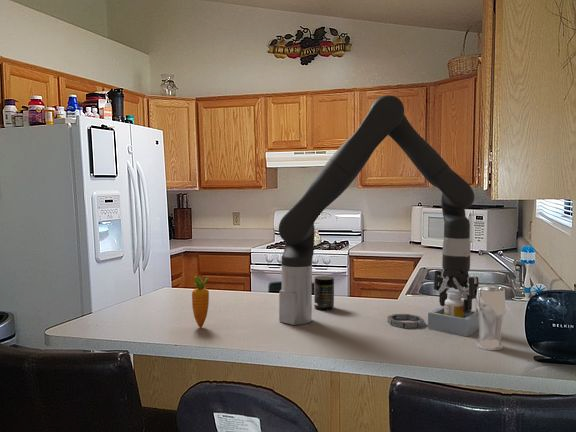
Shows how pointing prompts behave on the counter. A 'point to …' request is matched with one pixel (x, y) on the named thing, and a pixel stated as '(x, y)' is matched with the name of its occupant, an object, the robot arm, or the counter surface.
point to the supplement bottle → (454, 305)
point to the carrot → (200, 301)
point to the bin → (452, 322)
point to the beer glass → (490, 316)
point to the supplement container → (324, 292)
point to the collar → (393, 321)
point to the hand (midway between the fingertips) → (455, 309)
